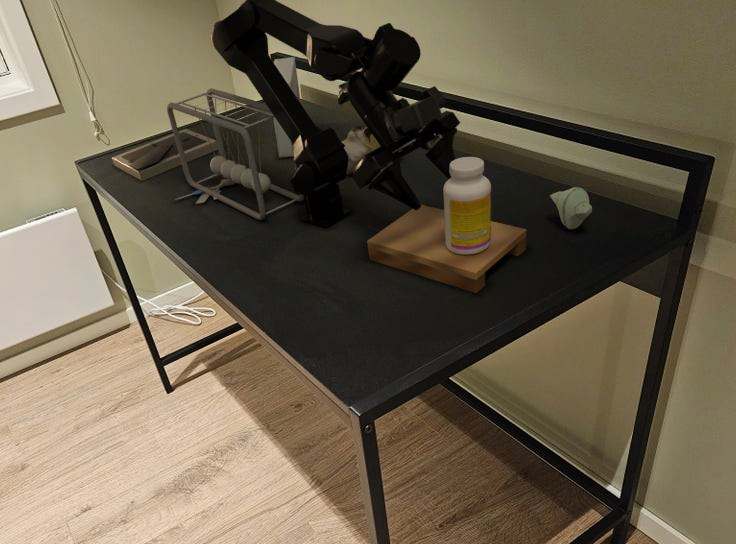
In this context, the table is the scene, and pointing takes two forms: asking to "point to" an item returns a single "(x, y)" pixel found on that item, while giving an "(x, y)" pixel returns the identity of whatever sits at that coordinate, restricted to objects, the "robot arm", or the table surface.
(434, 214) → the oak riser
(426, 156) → the robot arm
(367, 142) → the ceramic sculpture
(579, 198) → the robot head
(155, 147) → the picture frame
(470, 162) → the supplement bottle
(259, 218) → the newton's cradle
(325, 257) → the table surface
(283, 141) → the skincare box
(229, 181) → the key chain
